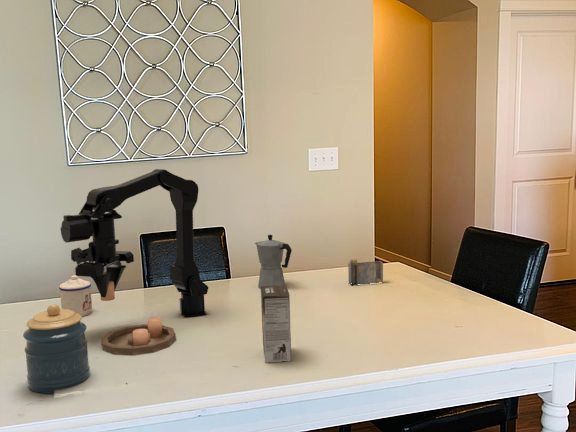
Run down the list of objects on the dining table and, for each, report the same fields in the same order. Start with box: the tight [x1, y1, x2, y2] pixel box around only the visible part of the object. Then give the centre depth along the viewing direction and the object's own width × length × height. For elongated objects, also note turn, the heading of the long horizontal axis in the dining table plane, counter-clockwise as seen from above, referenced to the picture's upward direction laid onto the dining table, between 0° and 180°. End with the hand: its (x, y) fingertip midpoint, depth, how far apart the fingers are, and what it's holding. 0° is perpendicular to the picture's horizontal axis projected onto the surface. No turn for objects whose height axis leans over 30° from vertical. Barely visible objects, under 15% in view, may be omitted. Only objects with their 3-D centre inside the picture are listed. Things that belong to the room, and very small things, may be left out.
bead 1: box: [100, 281, 116, 302], centre depth 167 cm, size 4×4×4 cm
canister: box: [22, 303, 91, 394], centre depth 137 cm, size 13×13×18 cm
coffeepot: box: [254, 234, 293, 290], centre depth 212 cm, size 15×9×18 cm, turn 51°
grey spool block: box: [347, 258, 384, 286], centre depth 213 cm, size 11×3×10 cm, turn 99°
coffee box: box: [260, 284, 292, 364], centre depth 150 cm, size 9×6×16 cm
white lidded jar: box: [58, 275, 93, 317], centre depth 190 cm, size 12×9×12 cm
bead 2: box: [133, 329, 149, 346], centre depth 155 cm, size 4×4×4 cm
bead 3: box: [146, 316, 163, 338], centre depth 164 cm, size 4×4×4 cm
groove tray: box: [101, 323, 177, 356], centre depth 160 cm, size 18×18×3 cm
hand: (107, 295), depth 167 cm, fingers closed on bead 1, 4 cm apart
